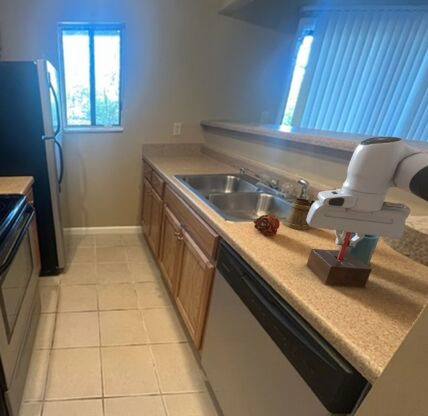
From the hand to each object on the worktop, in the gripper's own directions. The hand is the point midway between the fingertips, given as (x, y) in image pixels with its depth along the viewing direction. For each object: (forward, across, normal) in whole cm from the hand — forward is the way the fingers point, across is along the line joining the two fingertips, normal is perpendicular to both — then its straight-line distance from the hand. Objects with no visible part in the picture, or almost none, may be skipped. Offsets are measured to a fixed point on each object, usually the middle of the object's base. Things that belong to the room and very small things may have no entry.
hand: (344, 245), depth 78 cm
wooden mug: (+10, +1, -37) cm, 38 cm away
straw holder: (+10, 0, 0) cm, 10 cm away
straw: (+10, 0, 0) cm, 10 cm away
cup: (+10, -8, -13) cm, 18 cm away
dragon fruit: (+10, +16, -25) cm, 32 cm away
